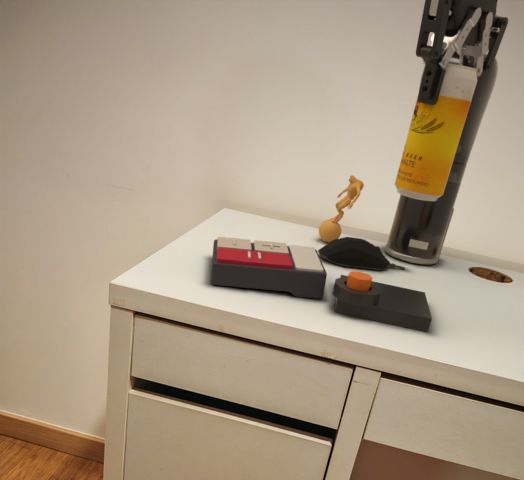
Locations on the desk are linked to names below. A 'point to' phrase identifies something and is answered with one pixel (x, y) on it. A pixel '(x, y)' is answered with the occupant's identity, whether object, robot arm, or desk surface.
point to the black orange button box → (384, 304)
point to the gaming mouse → (355, 254)
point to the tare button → (359, 281)
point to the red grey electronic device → (268, 267)
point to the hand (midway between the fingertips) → (442, 105)
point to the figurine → (340, 211)
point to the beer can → (436, 136)
